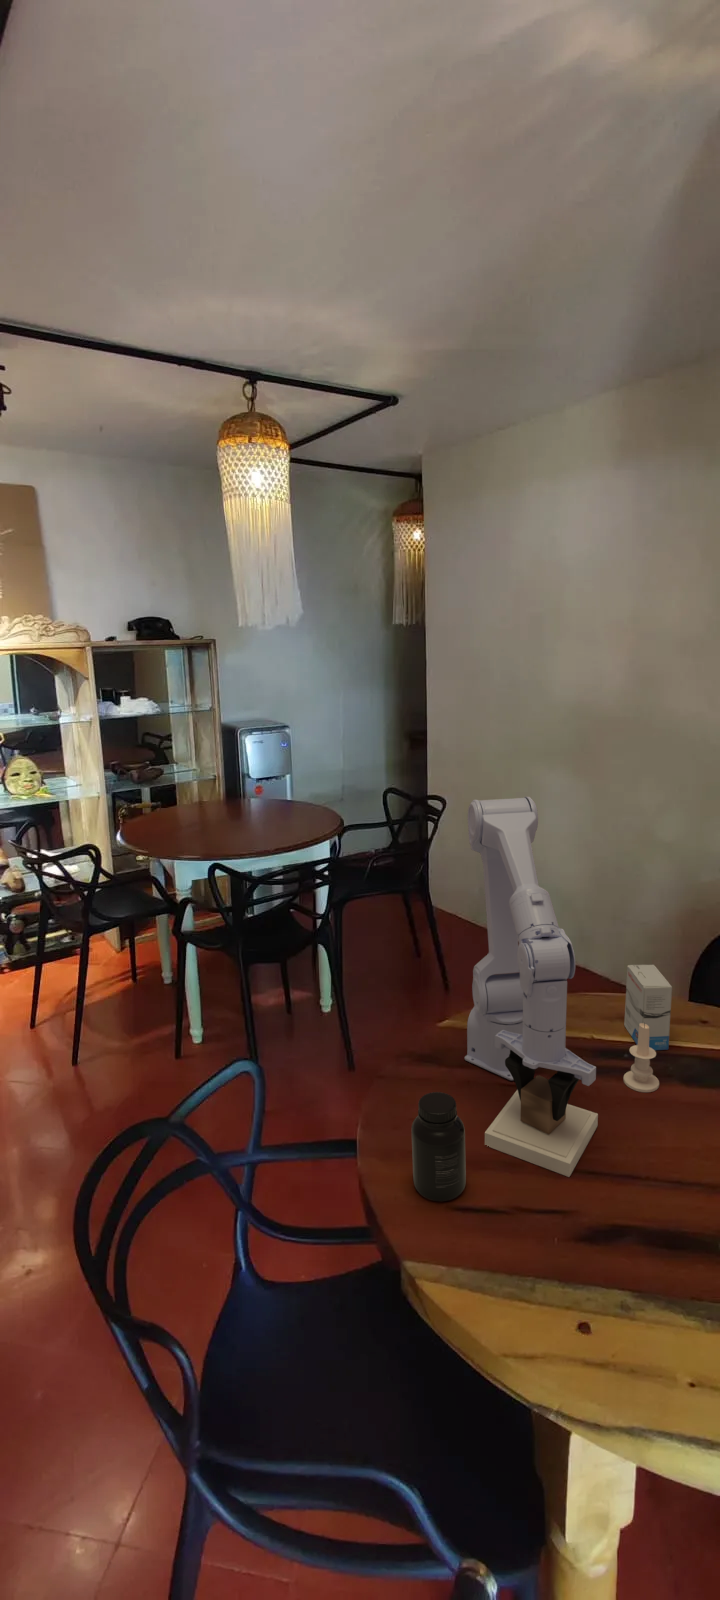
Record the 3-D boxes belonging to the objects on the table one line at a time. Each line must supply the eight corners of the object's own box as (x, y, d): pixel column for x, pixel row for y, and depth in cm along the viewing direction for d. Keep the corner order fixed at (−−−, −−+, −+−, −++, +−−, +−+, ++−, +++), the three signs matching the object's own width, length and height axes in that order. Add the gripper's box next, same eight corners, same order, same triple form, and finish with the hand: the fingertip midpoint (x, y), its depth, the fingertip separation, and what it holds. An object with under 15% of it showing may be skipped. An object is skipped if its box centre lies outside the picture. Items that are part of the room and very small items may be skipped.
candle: (653, 1073, 121) (657, 1013, 118) (663, 1093, 116) (667, 1031, 113) (619, 1072, 121) (622, 1013, 119) (627, 1092, 116) (631, 1030, 114)
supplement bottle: (470, 1171, 101) (470, 1091, 98) (459, 1208, 95) (459, 1124, 92) (420, 1161, 103) (418, 1083, 100) (406, 1197, 97) (404, 1114, 94)
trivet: (484, 1145, 106) (484, 1131, 105) (518, 1099, 115) (518, 1086, 115) (569, 1177, 99) (569, 1162, 99) (597, 1126, 109) (598, 1112, 108)
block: (520, 1120, 107) (520, 1089, 106) (537, 1105, 110) (538, 1074, 109) (549, 1134, 104) (549, 1102, 103) (565, 1118, 107) (566, 1087, 106)
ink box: (669, 1050, 127) (673, 986, 124) (639, 1051, 127) (643, 986, 124) (651, 1024, 135) (654, 963, 132) (623, 1025, 135) (626, 963, 132)
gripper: (482, 1015, 105) (482, 1101, 109) (578, 1052, 96) (575, 1146, 99) (511, 996, 110) (510, 1079, 113) (605, 1030, 100) (601, 1120, 104)
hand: (542, 1109), depth 106 cm, fingers closed on block, 4 cm apart
